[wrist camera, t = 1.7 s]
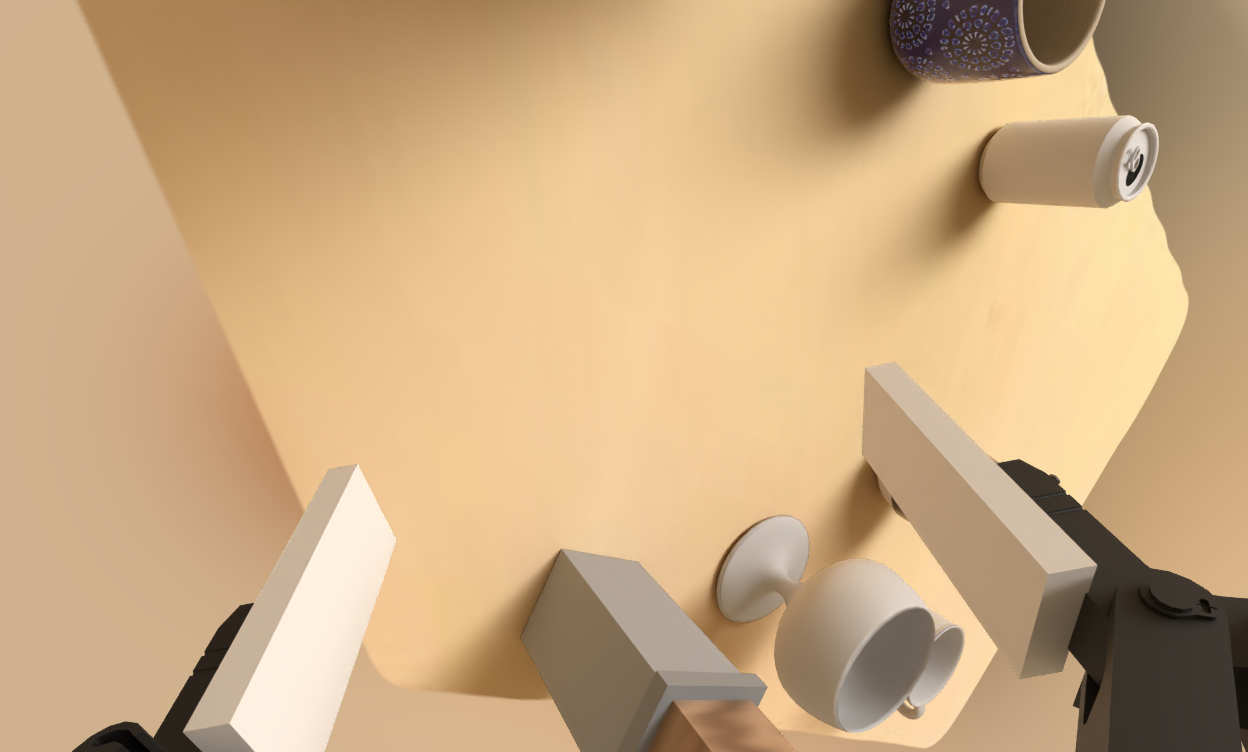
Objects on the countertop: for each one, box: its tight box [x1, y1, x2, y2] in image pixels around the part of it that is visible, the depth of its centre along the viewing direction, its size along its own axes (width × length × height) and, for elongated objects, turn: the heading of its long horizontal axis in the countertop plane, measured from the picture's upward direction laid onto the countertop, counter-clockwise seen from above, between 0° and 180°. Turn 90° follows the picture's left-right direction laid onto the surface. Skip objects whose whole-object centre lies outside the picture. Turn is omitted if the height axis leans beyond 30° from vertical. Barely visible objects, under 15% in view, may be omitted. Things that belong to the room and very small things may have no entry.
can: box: [979, 115, 1159, 208], centre depth 55 cm, size 8×8×12 cm
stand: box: [520, 549, 767, 752], centre depth 43 cm, size 9×9×16 cm
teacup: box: [897, 609, 964, 719], centre depth 73 cm, size 14×11×8 cm
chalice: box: [716, 515, 935, 733], centre depth 54 cm, size 14×14×15 cm
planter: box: [890, 0, 1105, 84], centre depth 44 cm, size 11×11×11 cm
